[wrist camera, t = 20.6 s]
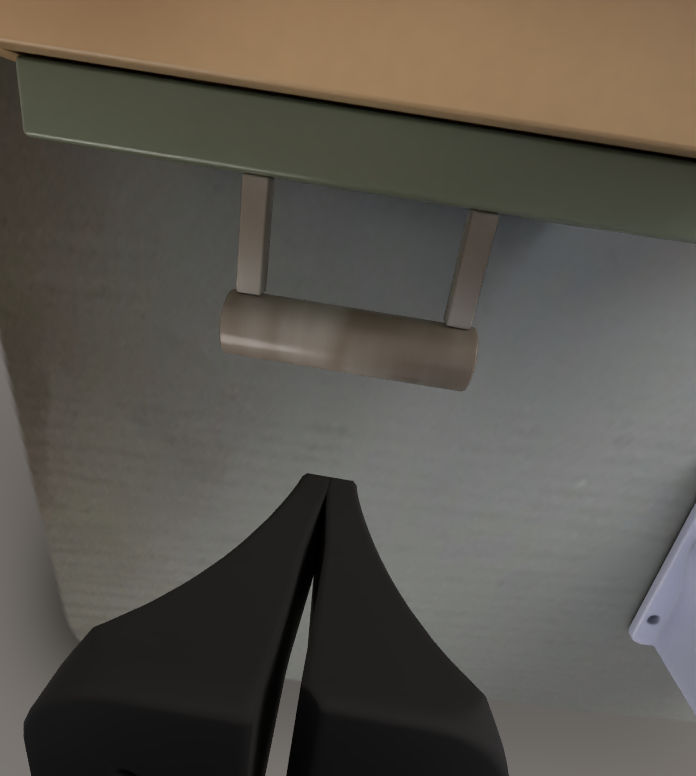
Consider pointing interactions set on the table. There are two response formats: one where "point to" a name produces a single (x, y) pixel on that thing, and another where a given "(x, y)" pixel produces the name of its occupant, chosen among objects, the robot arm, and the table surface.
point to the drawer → (362, 174)
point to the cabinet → (407, 57)
